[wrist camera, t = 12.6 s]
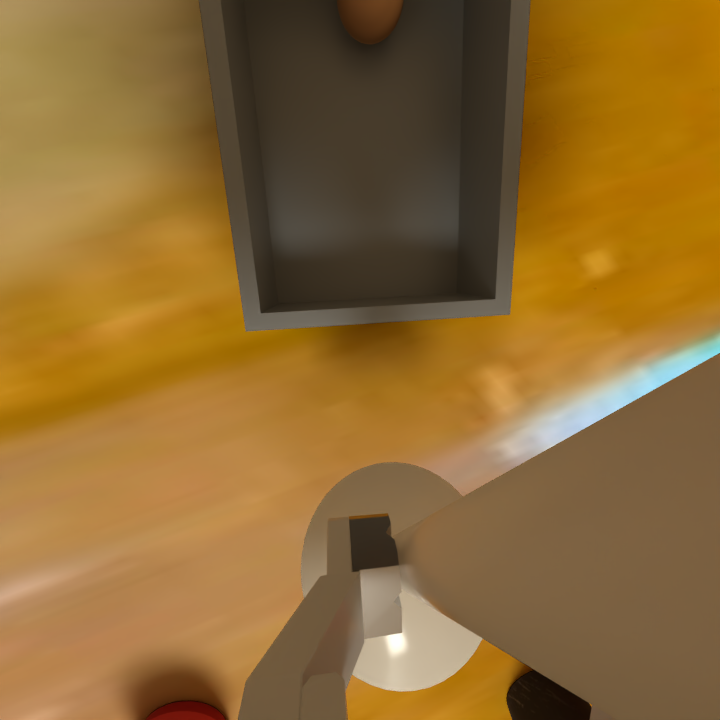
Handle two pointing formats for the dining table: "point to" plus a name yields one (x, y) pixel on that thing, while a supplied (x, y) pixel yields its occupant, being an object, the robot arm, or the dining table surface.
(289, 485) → the dining table surface
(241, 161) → the tray
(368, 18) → the ball
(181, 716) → the canned food
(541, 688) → the travel mug
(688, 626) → the pedestal dish
